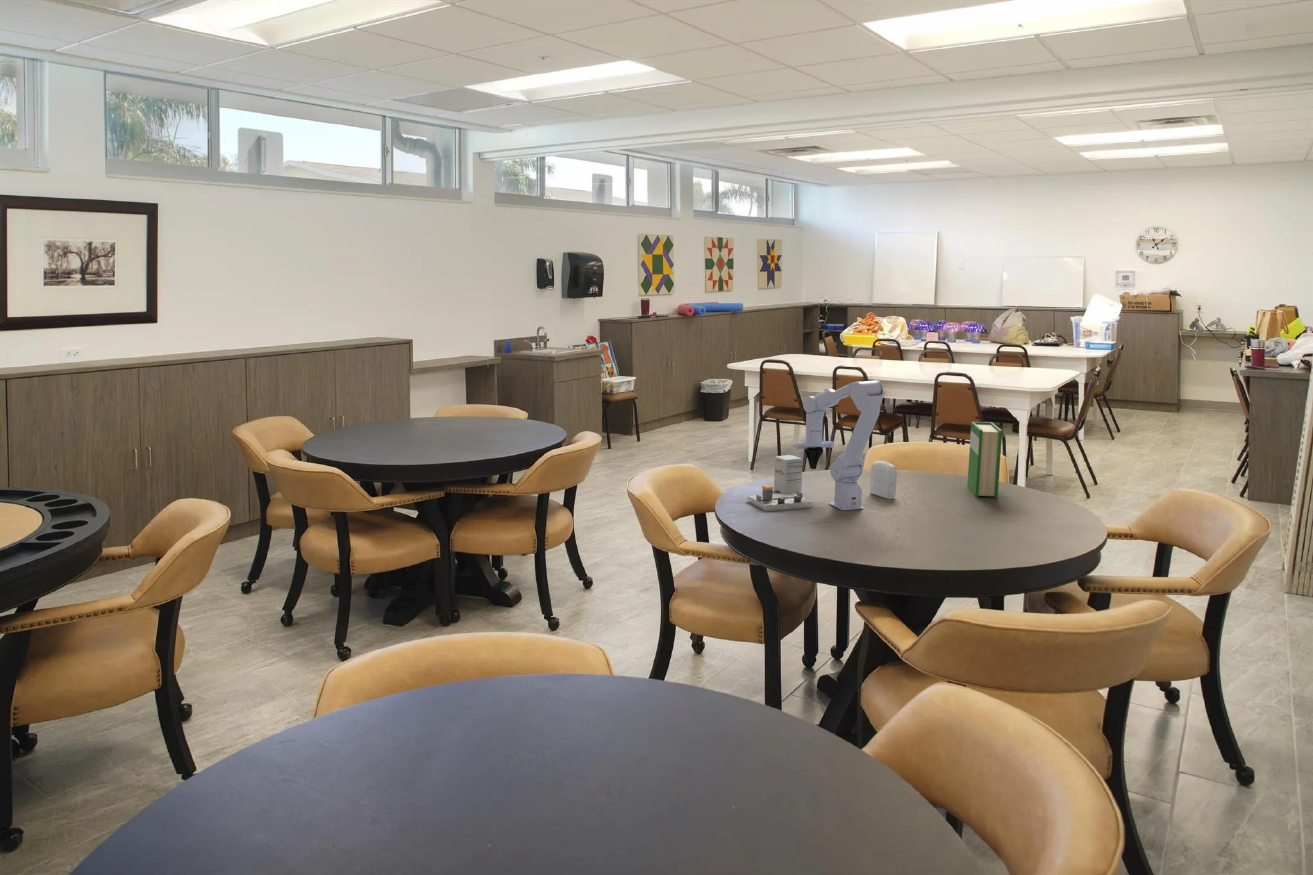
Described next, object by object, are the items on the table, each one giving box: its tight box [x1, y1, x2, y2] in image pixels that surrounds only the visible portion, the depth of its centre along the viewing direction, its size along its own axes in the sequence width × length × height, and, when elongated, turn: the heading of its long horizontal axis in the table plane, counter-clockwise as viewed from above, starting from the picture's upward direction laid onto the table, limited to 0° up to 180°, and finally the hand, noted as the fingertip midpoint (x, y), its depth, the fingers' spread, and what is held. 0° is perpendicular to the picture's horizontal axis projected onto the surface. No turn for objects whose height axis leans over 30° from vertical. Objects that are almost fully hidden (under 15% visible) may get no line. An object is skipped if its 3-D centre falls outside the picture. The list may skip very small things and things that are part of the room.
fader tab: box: [761, 484, 774, 500], centre depth 314 cm, size 3×3×4 cm
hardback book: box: [966, 421, 1003, 499], centre depth 332 cm, size 18×7×24 cm, turn 171°
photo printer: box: [869, 460, 898, 500], centre depth 327 cm, size 10×4×12 cm, turn 28°
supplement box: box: [773, 454, 804, 494], centre depth 333 cm, size 7×7×13 cm
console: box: [747, 491, 813, 512], centre depth 316 cm, size 14×17×4 cm
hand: (812, 468), depth 326 cm, fingers closed
